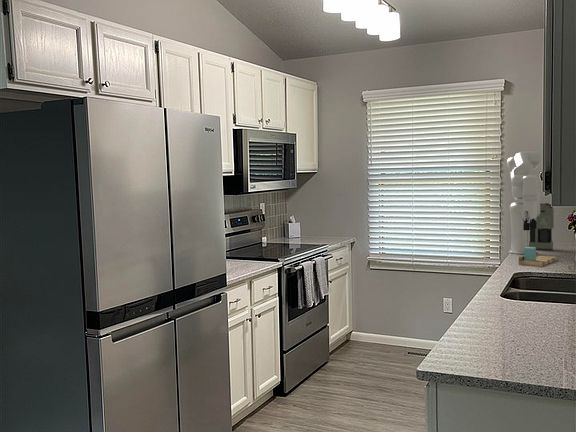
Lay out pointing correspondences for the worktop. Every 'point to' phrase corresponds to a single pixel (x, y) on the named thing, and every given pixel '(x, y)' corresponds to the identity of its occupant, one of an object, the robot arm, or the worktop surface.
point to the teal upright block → (530, 253)
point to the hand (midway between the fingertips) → (530, 229)
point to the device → (543, 229)
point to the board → (537, 260)
